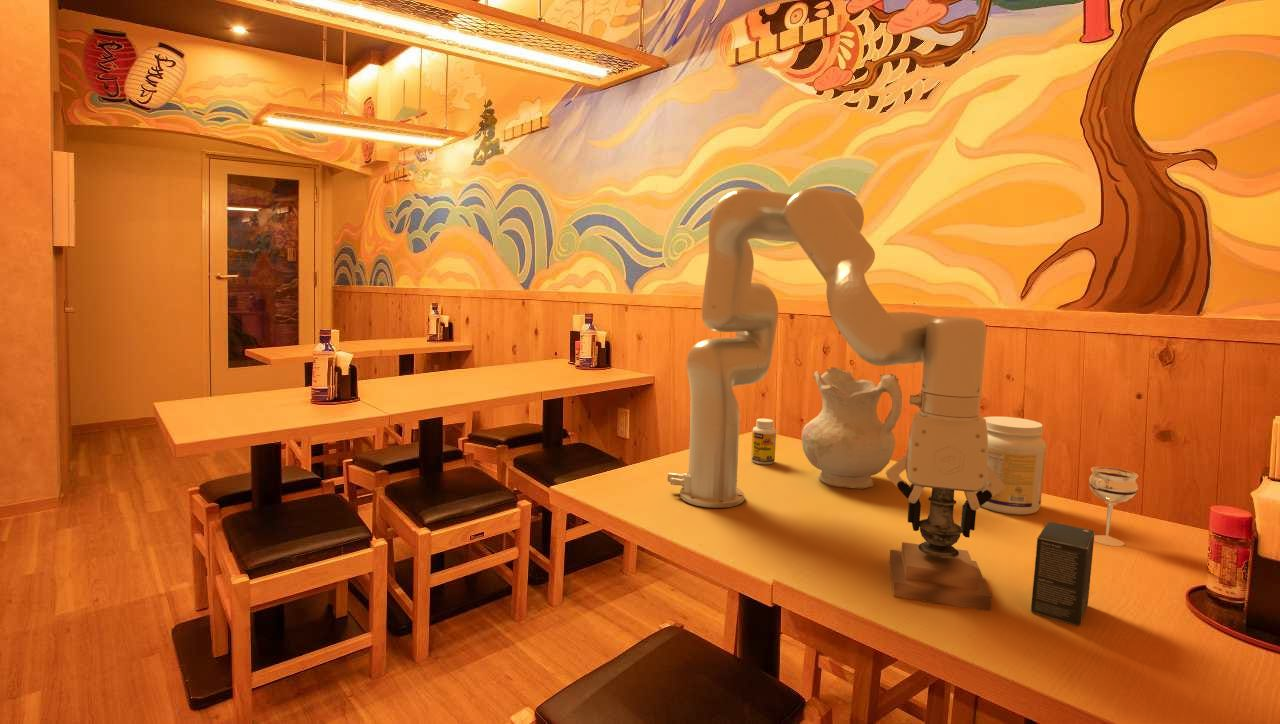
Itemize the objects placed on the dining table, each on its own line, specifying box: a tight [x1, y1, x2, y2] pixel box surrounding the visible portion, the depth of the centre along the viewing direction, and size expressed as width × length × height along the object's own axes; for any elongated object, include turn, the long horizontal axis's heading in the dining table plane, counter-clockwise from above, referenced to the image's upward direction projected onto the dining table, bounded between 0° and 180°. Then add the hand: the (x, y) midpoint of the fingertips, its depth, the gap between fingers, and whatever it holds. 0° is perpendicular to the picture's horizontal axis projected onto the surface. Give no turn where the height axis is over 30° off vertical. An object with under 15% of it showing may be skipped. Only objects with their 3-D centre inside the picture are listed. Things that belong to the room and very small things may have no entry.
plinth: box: [888, 541, 993, 612], centre depth 95 cm, size 12×12×4 cm
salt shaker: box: [918, 488, 963, 558], centre depth 94 cm, size 6×6×12 cm
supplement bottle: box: [750, 418, 777, 466], centre depth 158 cm, size 6×6×10 cm
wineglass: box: [1088, 466, 1139, 547], centre depth 113 cm, size 7×7×12 cm
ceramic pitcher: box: [801, 366, 903, 490], centre depth 143 cm, size 22×20×25 cm
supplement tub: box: [975, 416, 1047, 516], centre depth 130 cm, size 12×12×17 cm
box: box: [1030, 521, 1095, 627], centre depth 89 cm, size 8×6×11 cm
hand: (939, 529), depth 95 cm, fingers closed on salt shaker, 5 cm apart
